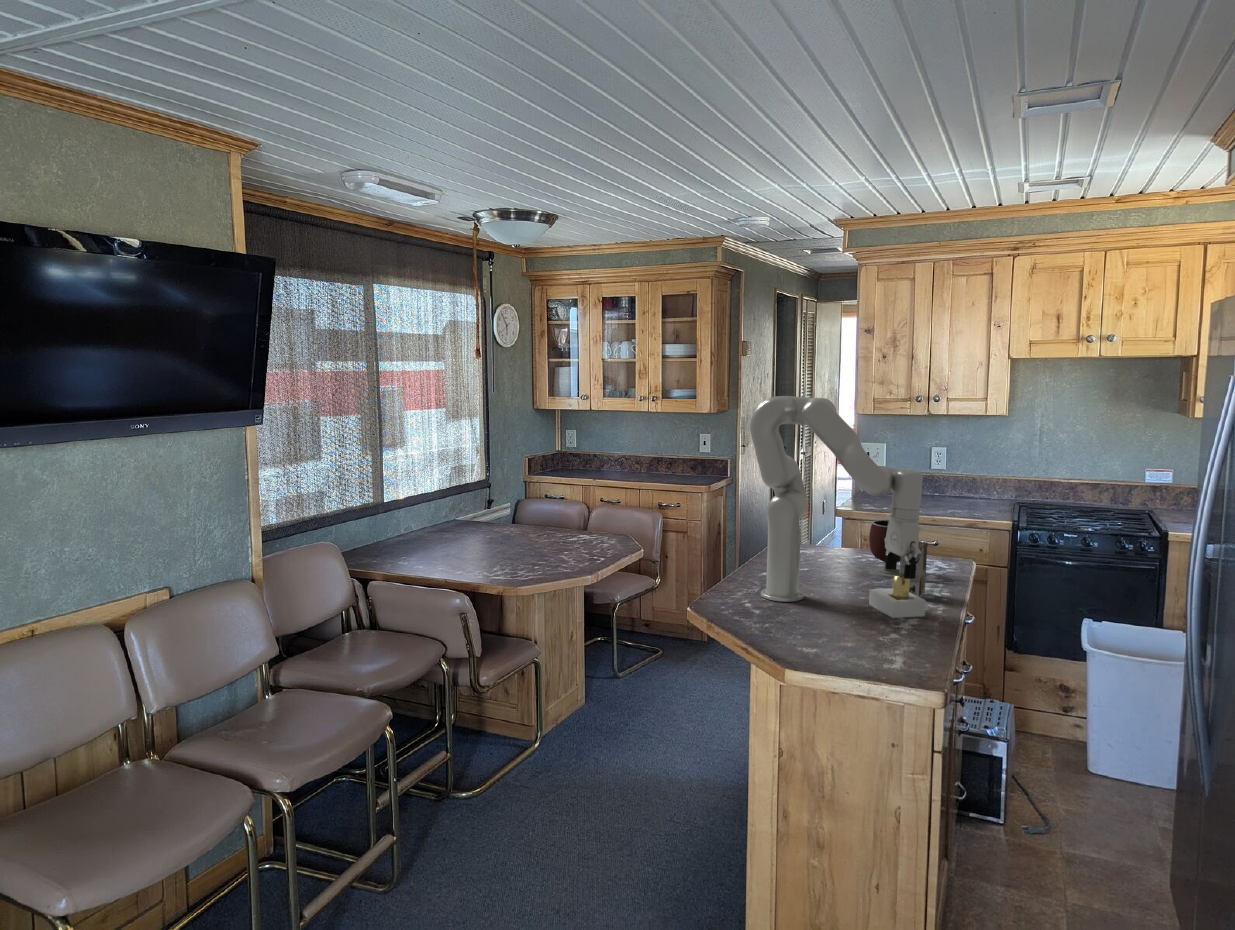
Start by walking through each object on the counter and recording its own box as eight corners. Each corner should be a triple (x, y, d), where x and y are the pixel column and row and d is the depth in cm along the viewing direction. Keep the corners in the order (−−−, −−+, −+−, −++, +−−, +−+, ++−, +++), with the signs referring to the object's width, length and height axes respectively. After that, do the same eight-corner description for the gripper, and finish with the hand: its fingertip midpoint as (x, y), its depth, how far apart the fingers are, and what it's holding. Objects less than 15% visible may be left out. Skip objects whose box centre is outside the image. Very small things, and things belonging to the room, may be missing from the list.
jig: (868, 604, 242) (869, 589, 242) (899, 602, 245) (900, 588, 244) (892, 617, 230) (893, 602, 229) (924, 616, 232) (925, 600, 231)
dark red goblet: (867, 567, 288) (870, 510, 286) (909, 570, 284) (912, 512, 282) (868, 577, 273) (871, 518, 271) (912, 581, 270) (916, 520, 267)
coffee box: (903, 590, 259) (906, 539, 257) (925, 593, 255) (928, 542, 253) (897, 597, 251) (900, 544, 249) (919, 600, 248) (922, 547, 246)
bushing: (888, 605, 237) (890, 573, 236) (902, 604, 238) (904, 573, 237) (897, 609, 233) (898, 577, 232) (911, 608, 234) (913, 577, 232)
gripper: (877, 508, 240) (872, 566, 242) (910, 520, 223) (904, 582, 225) (900, 508, 241) (895, 565, 243) (935, 520, 224) (929, 581, 227)
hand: (899, 573), depth 234 cm, fingers open, 9 cm apart
